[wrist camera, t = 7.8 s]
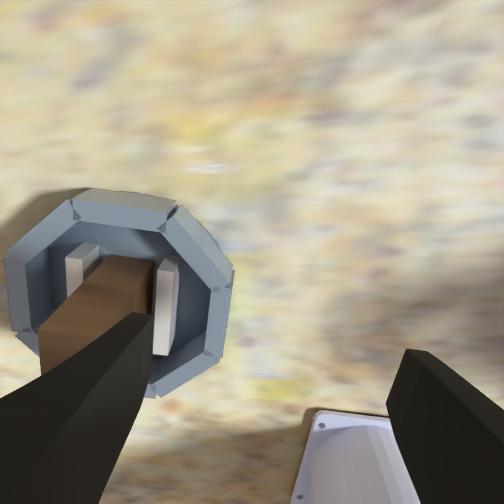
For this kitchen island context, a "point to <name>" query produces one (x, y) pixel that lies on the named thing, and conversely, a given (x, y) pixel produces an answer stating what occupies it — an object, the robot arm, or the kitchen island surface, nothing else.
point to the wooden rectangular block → (96, 307)
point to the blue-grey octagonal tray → (138, 246)
